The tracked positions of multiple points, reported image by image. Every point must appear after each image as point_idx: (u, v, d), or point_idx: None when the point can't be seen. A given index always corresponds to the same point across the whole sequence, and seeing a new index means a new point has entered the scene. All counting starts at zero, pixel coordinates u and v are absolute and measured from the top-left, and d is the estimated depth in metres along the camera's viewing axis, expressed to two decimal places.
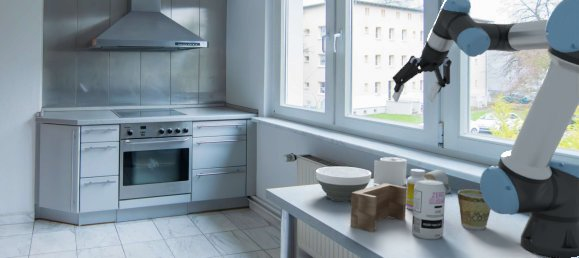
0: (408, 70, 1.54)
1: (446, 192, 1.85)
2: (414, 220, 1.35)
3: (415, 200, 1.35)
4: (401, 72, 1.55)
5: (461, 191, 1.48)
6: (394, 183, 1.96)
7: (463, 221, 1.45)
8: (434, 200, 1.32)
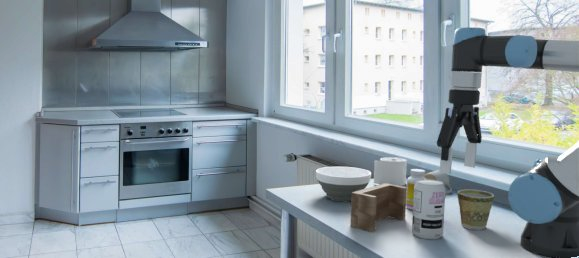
0: (452, 124, 1.23)
1: (447, 192, 1.85)
2: (414, 220, 1.35)
3: (415, 200, 1.35)
4: (445, 131, 1.23)
5: (461, 191, 1.48)
6: (394, 183, 1.96)
7: (463, 221, 1.45)
8: (434, 200, 1.32)
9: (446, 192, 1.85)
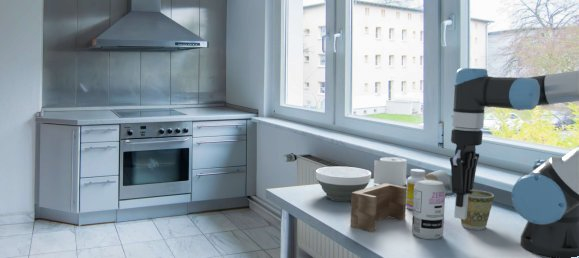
0: (461, 173, 1.24)
1: (448, 193, 1.85)
2: (414, 220, 1.35)
3: (415, 200, 1.35)
4: (456, 180, 1.25)
5: None
6: (394, 183, 1.96)
7: (463, 221, 1.45)
8: (433, 200, 1.32)
9: (447, 192, 1.85)
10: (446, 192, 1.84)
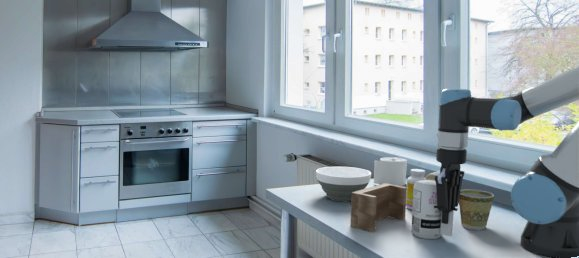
0: (445, 191, 1.28)
1: None
2: (413, 220, 1.36)
3: (414, 200, 1.35)
4: (441, 198, 1.29)
5: (461, 191, 1.48)
6: (394, 183, 1.96)
7: (463, 221, 1.45)
8: (433, 200, 1.32)
9: None
10: None
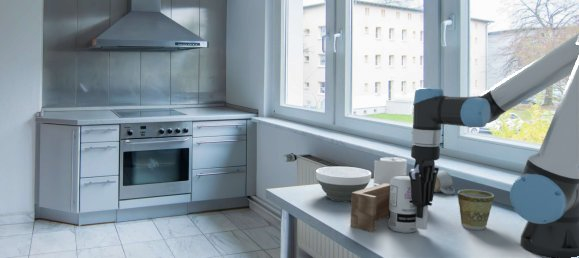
0: (419, 186, 1.33)
1: (450, 193, 1.84)
2: (390, 214, 1.40)
3: (391, 195, 1.40)
4: (415, 193, 1.34)
5: (461, 191, 1.48)
6: None
7: (463, 221, 1.45)
8: (409, 195, 1.37)
9: (449, 193, 1.84)
10: (448, 193, 1.84)
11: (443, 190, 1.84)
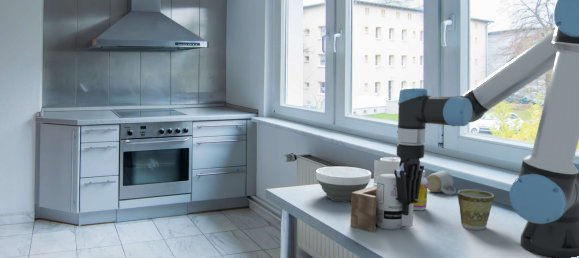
0: (404, 184, 1.36)
1: (451, 193, 1.84)
2: (377, 211, 1.43)
3: (378, 193, 1.43)
4: (400, 191, 1.37)
5: (461, 191, 1.48)
6: None
7: (463, 221, 1.45)
8: (395, 192, 1.40)
9: (450, 193, 1.83)
10: (449, 193, 1.83)
11: (444, 190, 1.84)
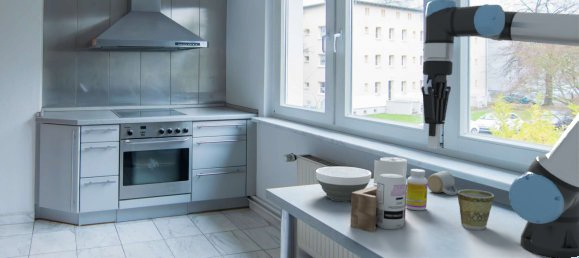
0: (432, 101, 1.29)
1: (452, 194, 1.83)
2: (377, 211, 1.43)
3: (378, 192, 1.43)
4: (428, 109, 1.30)
5: (461, 191, 1.48)
6: None
7: (463, 221, 1.45)
8: (395, 192, 1.40)
9: (451, 193, 1.83)
10: (450, 193, 1.83)
11: (445, 191, 1.83)
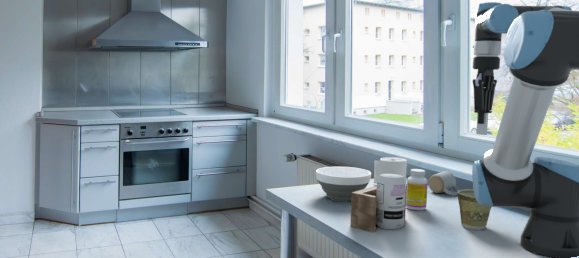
0: (482, 92, 1.45)
1: (454, 194, 1.83)
2: (377, 211, 1.43)
3: (378, 193, 1.43)
4: (478, 99, 1.46)
5: (461, 191, 1.48)
6: None
7: (463, 221, 1.45)
8: (395, 192, 1.40)
9: (453, 194, 1.83)
10: (452, 193, 1.82)
11: (447, 191, 1.83)
